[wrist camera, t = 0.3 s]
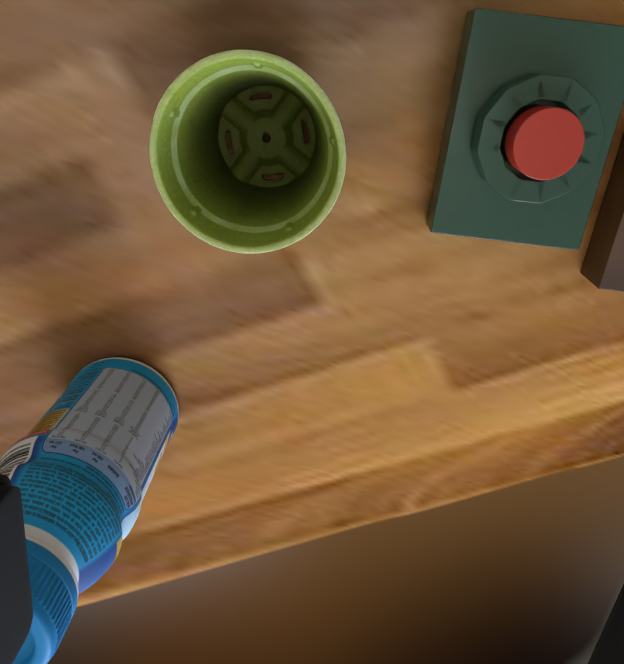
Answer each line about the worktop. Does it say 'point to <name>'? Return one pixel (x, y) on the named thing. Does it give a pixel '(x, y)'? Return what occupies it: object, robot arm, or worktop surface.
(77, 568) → the beverage bottle
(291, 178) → the plant pot
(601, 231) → the dial panel
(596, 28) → the button box
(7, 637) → the robot arm
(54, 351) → the worktop surface
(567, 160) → the button
